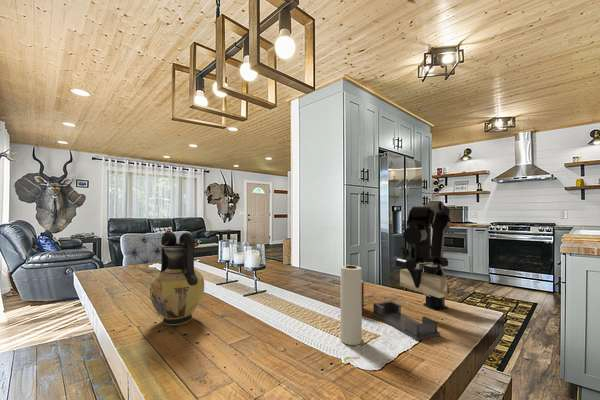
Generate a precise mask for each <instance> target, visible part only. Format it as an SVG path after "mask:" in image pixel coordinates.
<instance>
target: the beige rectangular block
mask: <svg viewBox="0 0 600 400" xmlns="http://www.w3.org/2000/svg"><path fill="white" fill-rule="evenodd" d="M447 282H448V277H447V276H446V277H441V276H437V275H433V274H429V273H424V271H422V275H421V280H420V285H419V288H416V287H415V284H414V282H413V279H412V276H411V274H410V272H409V271H408V270H407V269H404V268H401V269H399V286H400V287H402V288H405V289H409V290H412V291H416V292H417V293H422V294H425V295H426V294H428V295H431V296H434V297H438V298H442V297H445V298H446V297H448V293H447Z"/></svg>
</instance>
